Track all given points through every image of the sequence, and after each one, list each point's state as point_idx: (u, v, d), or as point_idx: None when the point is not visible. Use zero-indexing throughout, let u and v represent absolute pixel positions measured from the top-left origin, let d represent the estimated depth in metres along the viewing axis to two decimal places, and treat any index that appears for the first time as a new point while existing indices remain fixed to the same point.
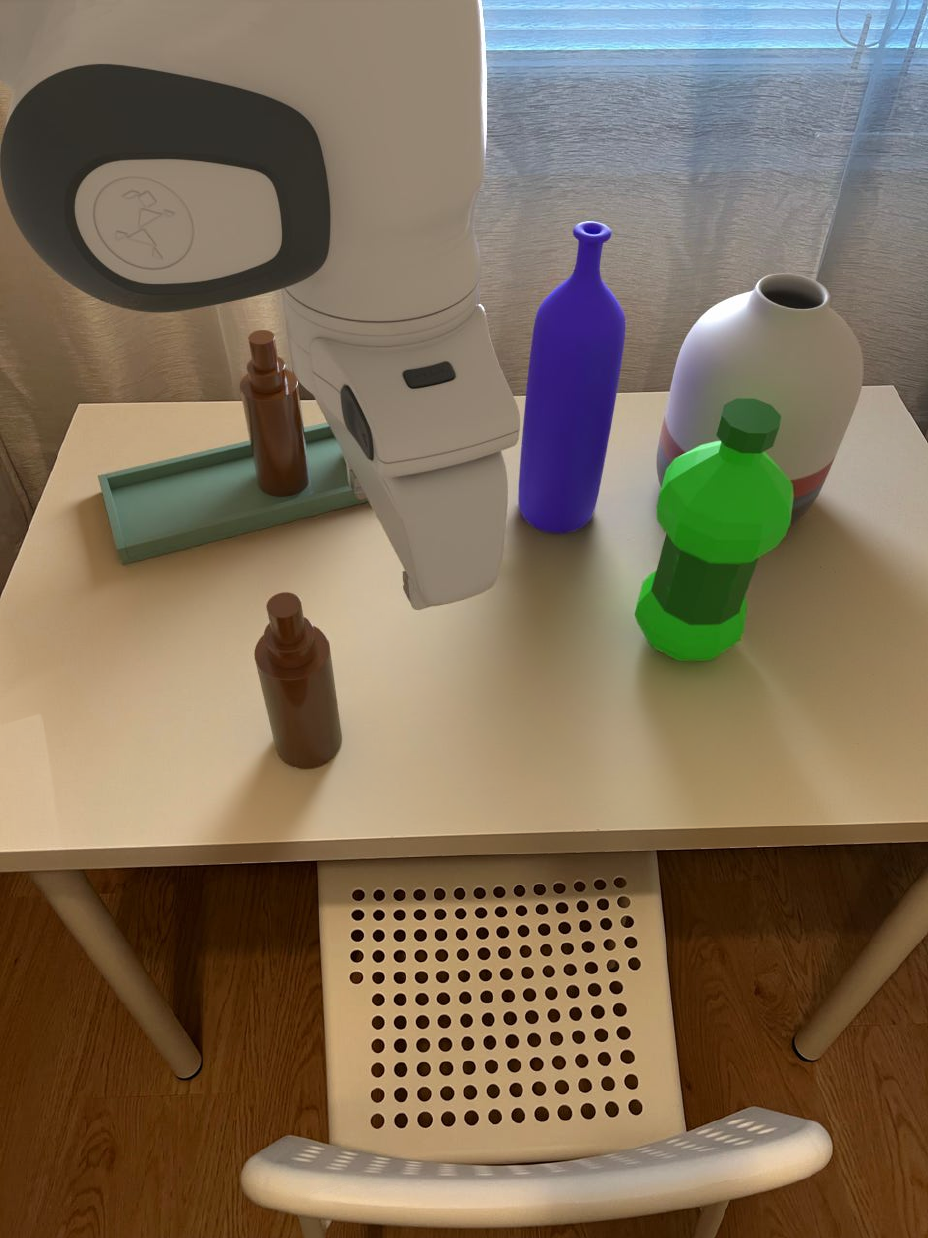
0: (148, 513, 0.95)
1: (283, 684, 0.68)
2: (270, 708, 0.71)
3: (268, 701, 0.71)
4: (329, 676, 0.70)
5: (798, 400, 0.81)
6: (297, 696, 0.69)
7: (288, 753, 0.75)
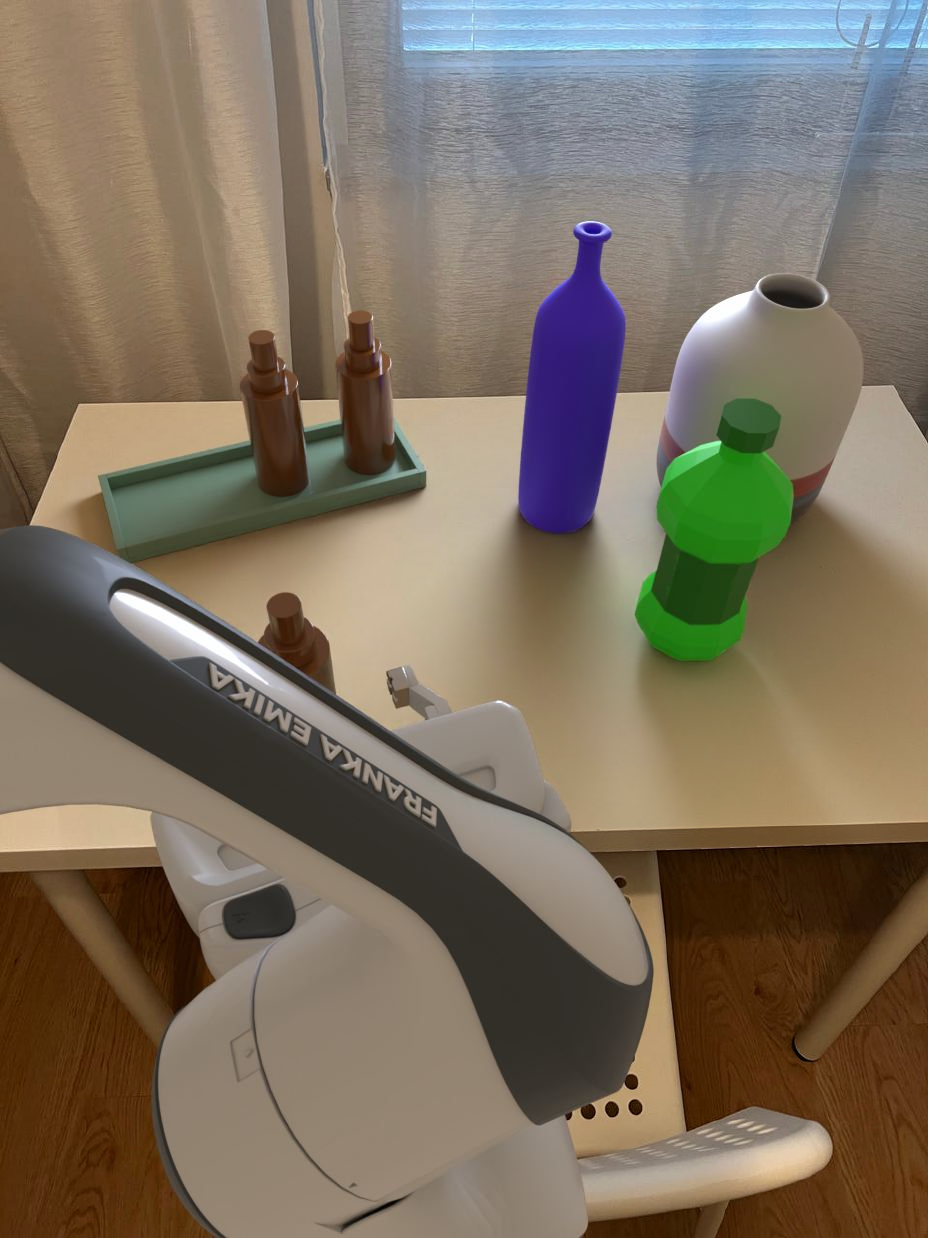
0: (148, 513, 0.95)
1: None
2: None
3: None
4: (329, 676, 0.70)
5: (798, 400, 0.81)
6: None
7: None
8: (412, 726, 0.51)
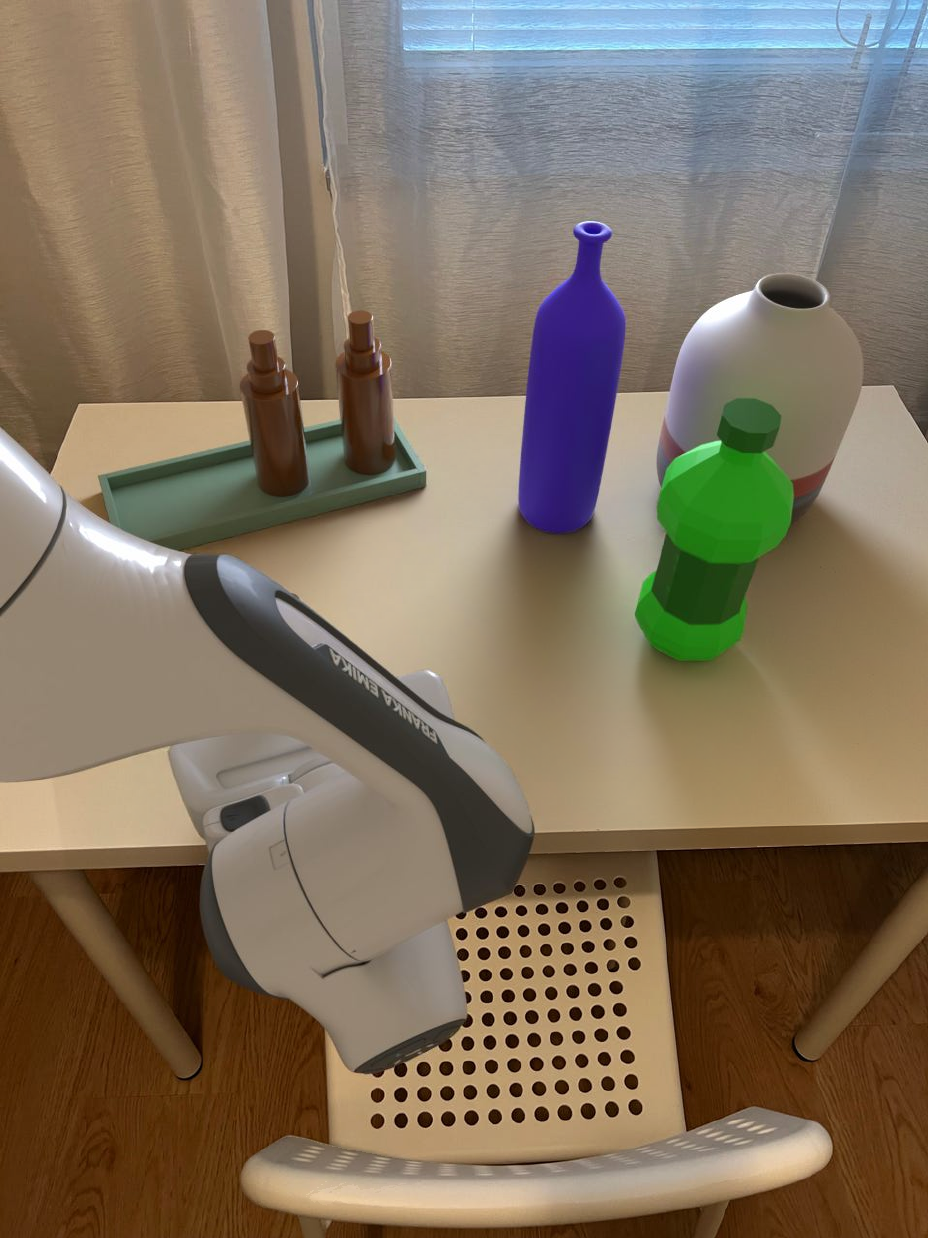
0: (148, 513, 0.95)
1: None
2: None
3: None
4: None
5: (798, 400, 0.81)
6: None
7: None
8: None
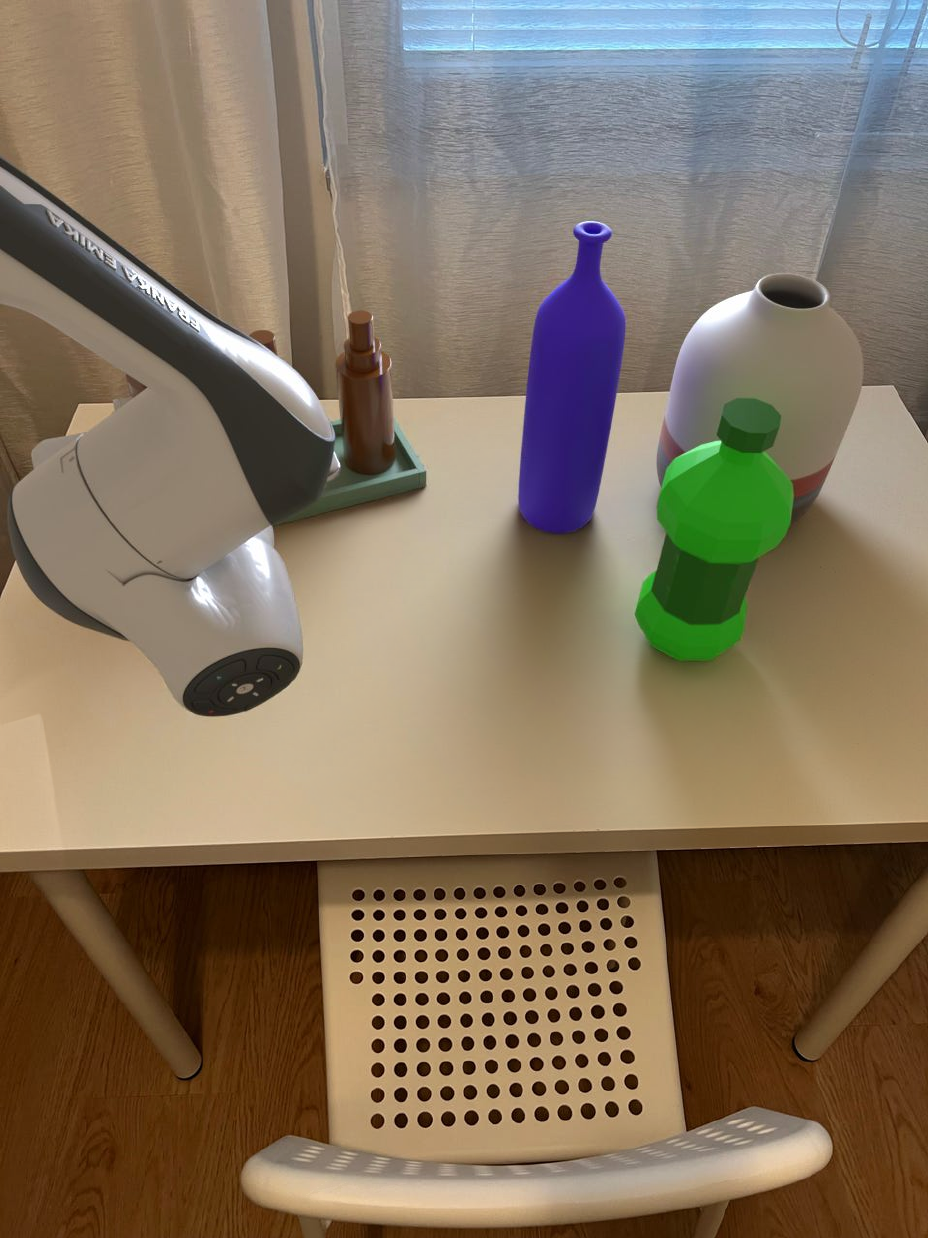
0: None
1: None
2: None
3: None
4: None
5: (798, 400, 0.81)
6: None
7: None
8: None
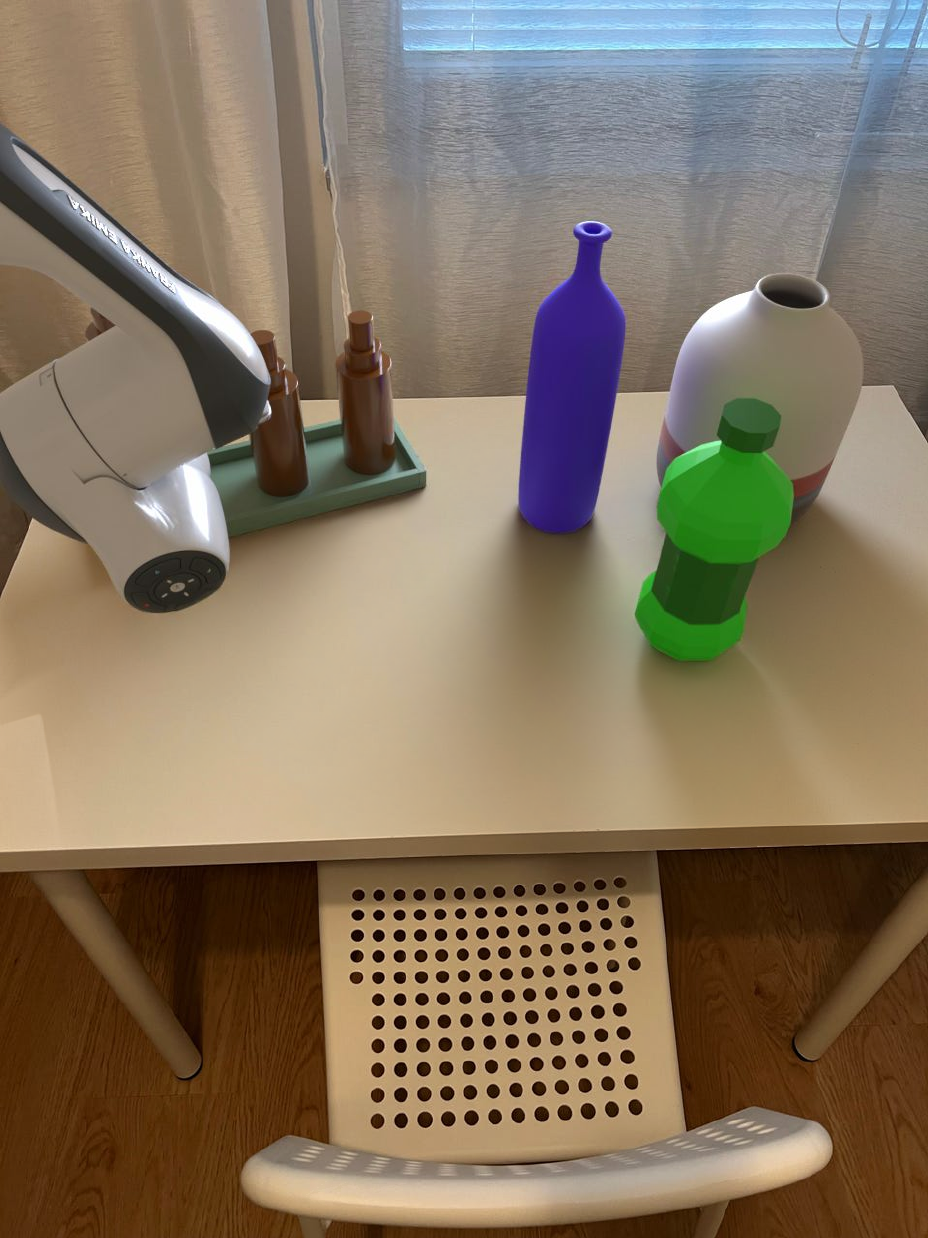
0: None
1: None
2: None
3: None
4: None
5: (798, 400, 0.81)
6: None
7: None
8: None
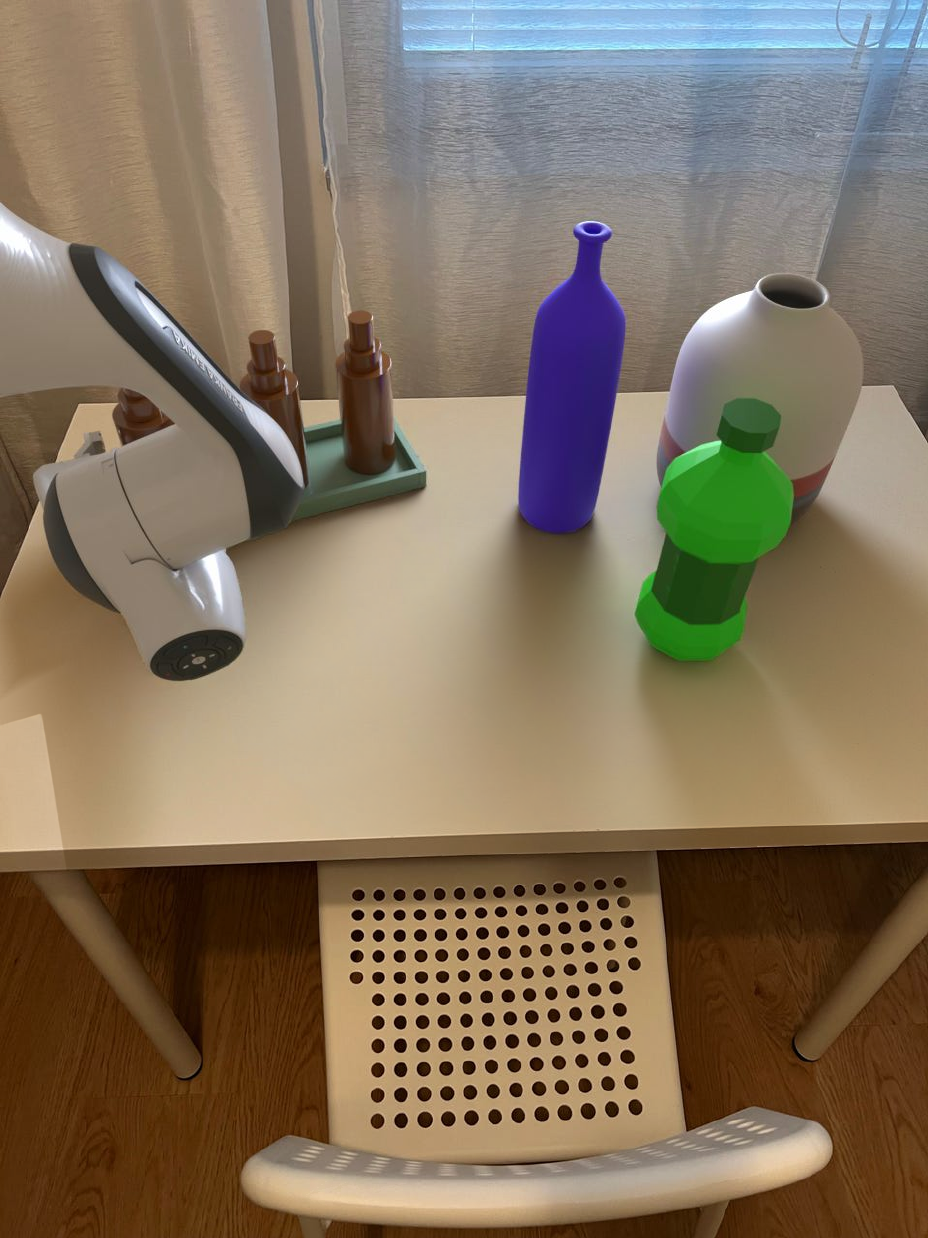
0: None
1: (133, 433, 0.85)
2: None
3: None
4: None
5: (798, 400, 0.81)
6: None
7: None
8: None
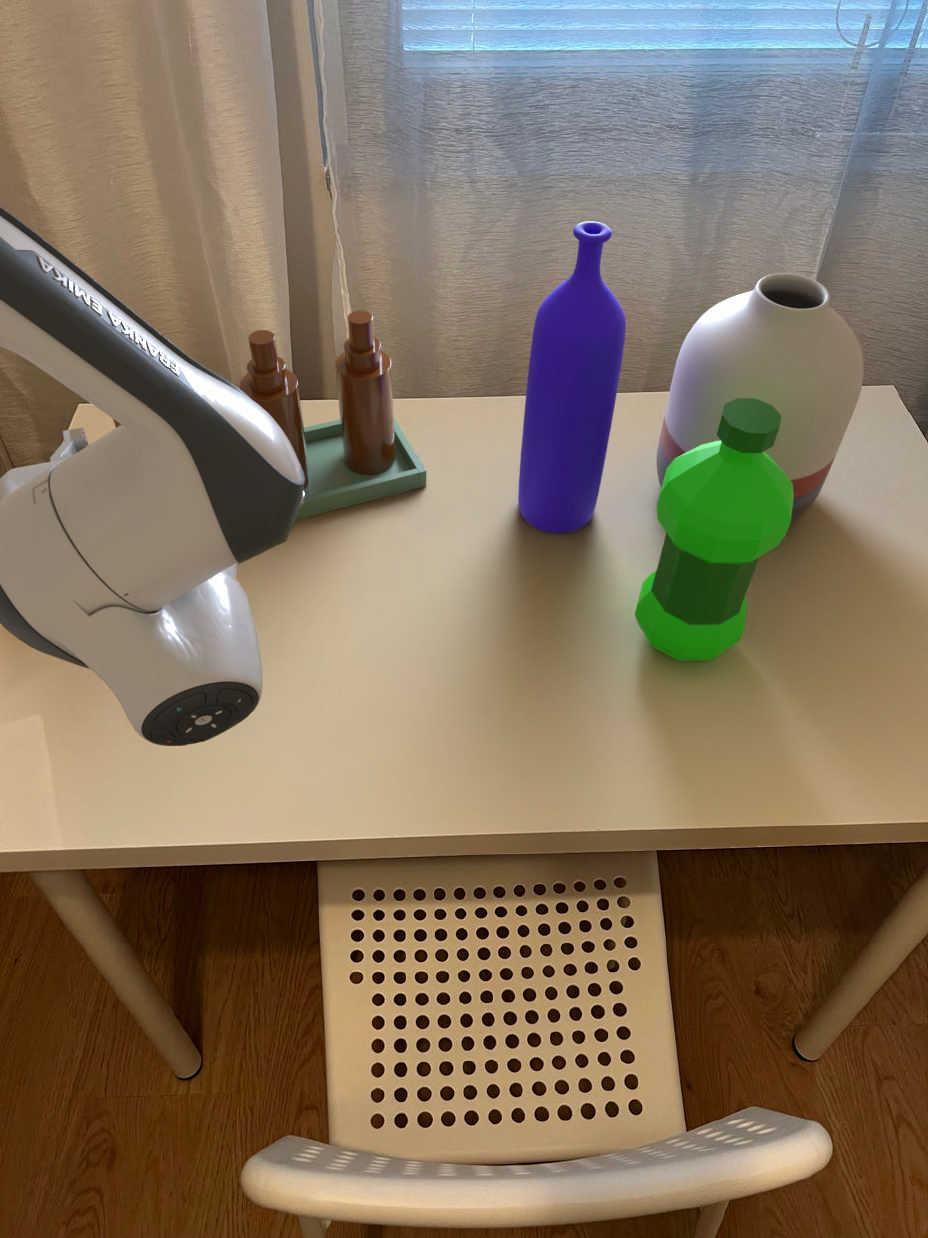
0: None
1: None
2: None
3: None
4: None
5: (798, 400, 0.81)
6: None
7: None
8: None
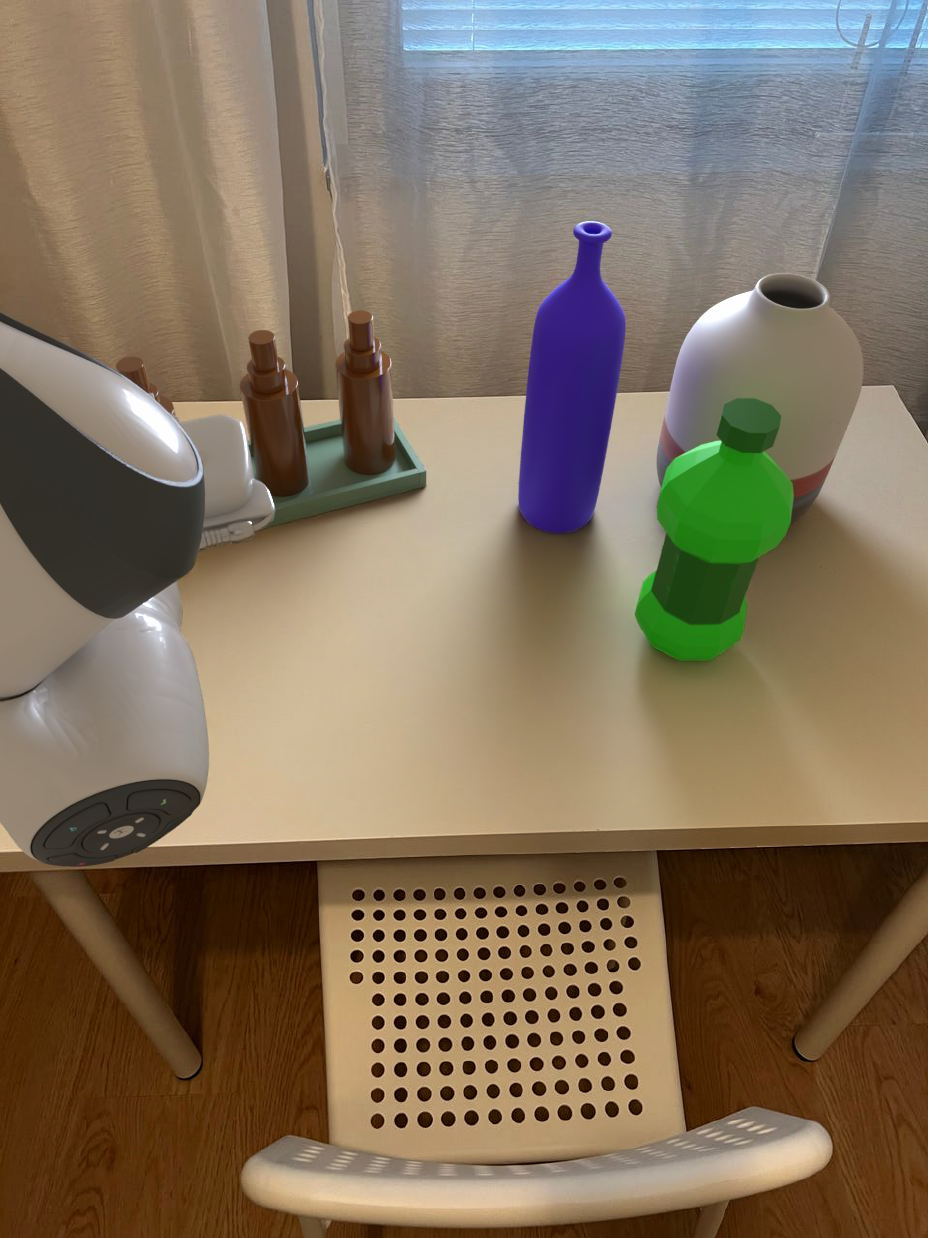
0: None
1: None
2: None
3: None
4: None
5: (798, 400, 0.81)
6: None
7: None
8: None
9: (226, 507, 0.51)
